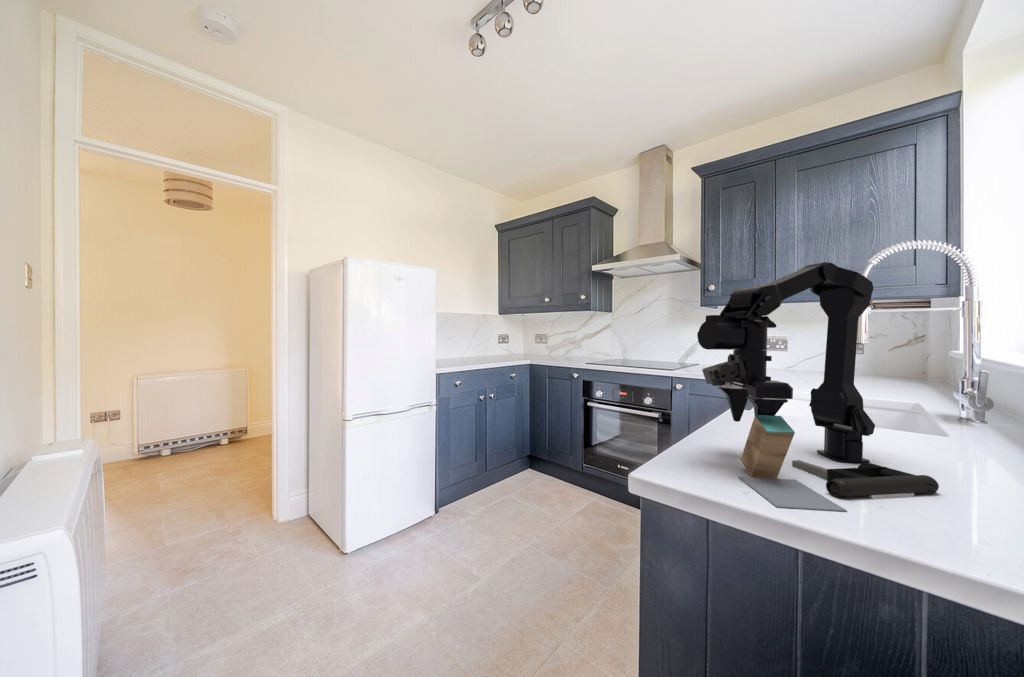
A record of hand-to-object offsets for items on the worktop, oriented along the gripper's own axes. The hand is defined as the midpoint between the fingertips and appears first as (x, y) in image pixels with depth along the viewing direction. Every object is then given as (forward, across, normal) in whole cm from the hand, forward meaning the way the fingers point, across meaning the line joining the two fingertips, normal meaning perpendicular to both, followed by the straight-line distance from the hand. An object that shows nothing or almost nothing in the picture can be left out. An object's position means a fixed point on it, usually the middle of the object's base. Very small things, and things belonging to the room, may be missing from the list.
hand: (747, 426), depth 75 cm
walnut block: (+7, +4, 0) cm, 8 cm away
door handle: (+9, +5, +15) cm, 18 cm away
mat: (+8, +13, 0) cm, 15 cm away
